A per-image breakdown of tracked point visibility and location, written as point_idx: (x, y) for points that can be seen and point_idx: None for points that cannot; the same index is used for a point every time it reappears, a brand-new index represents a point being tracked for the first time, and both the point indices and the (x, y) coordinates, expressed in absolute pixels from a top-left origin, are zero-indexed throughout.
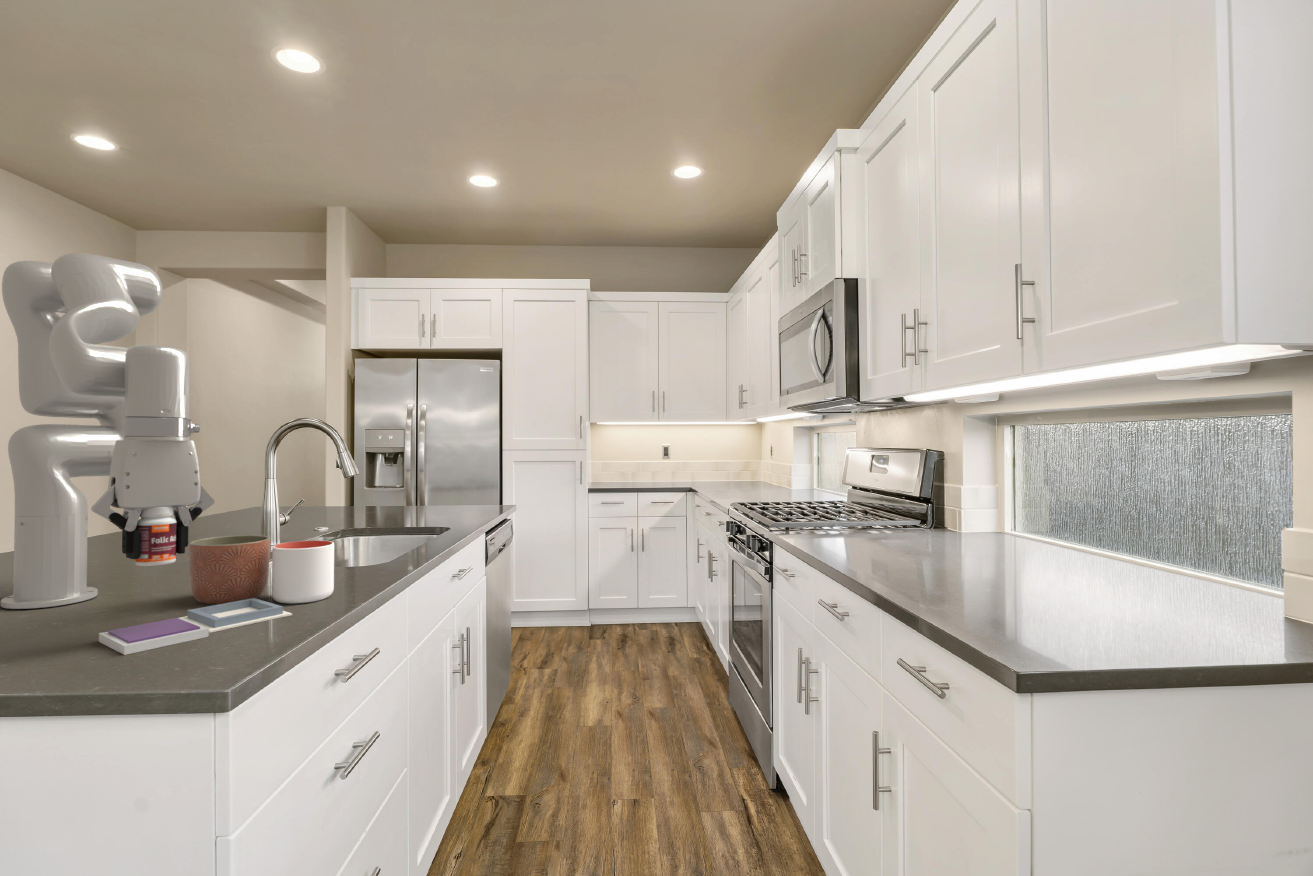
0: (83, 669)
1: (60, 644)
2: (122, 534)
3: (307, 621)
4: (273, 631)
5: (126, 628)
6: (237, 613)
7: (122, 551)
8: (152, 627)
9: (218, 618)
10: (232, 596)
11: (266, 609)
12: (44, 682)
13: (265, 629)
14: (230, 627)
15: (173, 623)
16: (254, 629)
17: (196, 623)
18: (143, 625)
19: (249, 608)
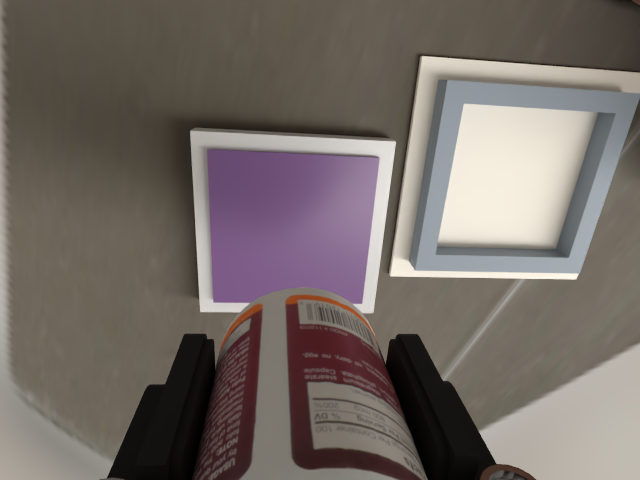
0: (123, 334)
1: (115, 58)
2: (111, 473)
3: (543, 349)
4: (458, 364)
5: (248, 165)
6: (528, 160)
7: (150, 386)
8: (294, 214)
9: (429, 260)
10: (636, 1)
11: (541, 269)
12: (57, 359)
13: (462, 339)
14: (433, 275)
15: (343, 217)
16: (452, 321)
17: (412, 178)
18: (288, 172)
19: (582, 129)
